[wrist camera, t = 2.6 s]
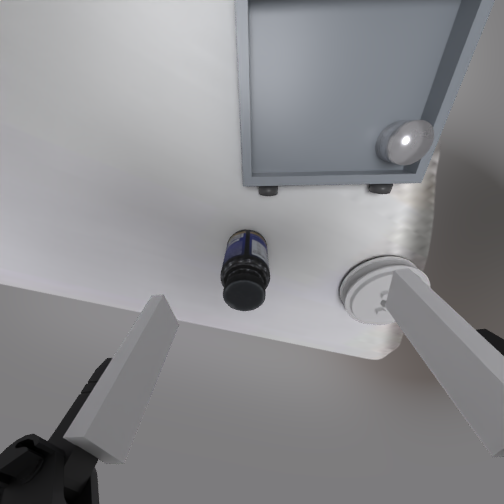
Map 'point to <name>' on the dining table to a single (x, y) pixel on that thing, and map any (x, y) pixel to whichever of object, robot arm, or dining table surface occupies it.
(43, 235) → the dining table surface
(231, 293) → the pill bottle
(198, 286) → the dining table surface
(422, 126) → the metal part
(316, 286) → the dining table surface
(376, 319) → the lid
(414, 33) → the cart
